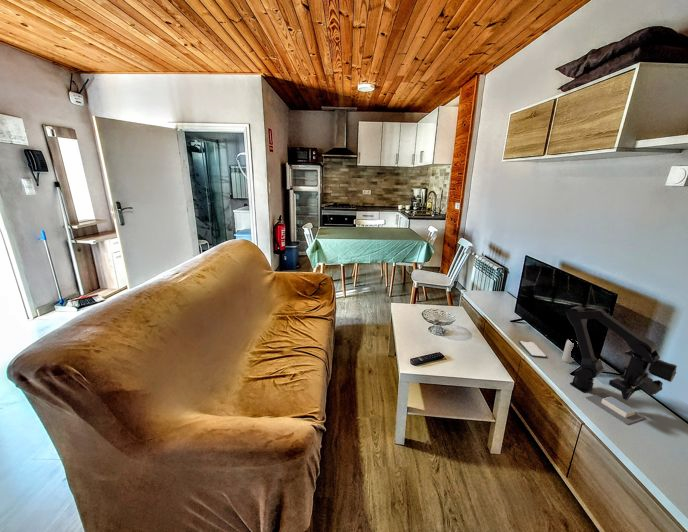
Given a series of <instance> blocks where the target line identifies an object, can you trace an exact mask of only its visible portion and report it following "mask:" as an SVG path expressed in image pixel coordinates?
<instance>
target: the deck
mask: <svg viewBox="0 0 688 532" xmlns="http://www.w3.org/2000/svg"><path fill="white" fill-rule="evenodd" d="M601 403H602V404H604V405H606V406H607V407H609V408H610V409H612V410H614V411H615V412H617V413H618V414H620V415H622V416H623V417H625V418H626V417H629V416H632V415H635V412H637V410H636V409H633V408H632V407H631V406H629V405H627V404H625V403H623V402H622V401H620V400H618V399H617V398H615V397H613V396H610V397H607V398H604V399H602V402H601Z"/></svg>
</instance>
